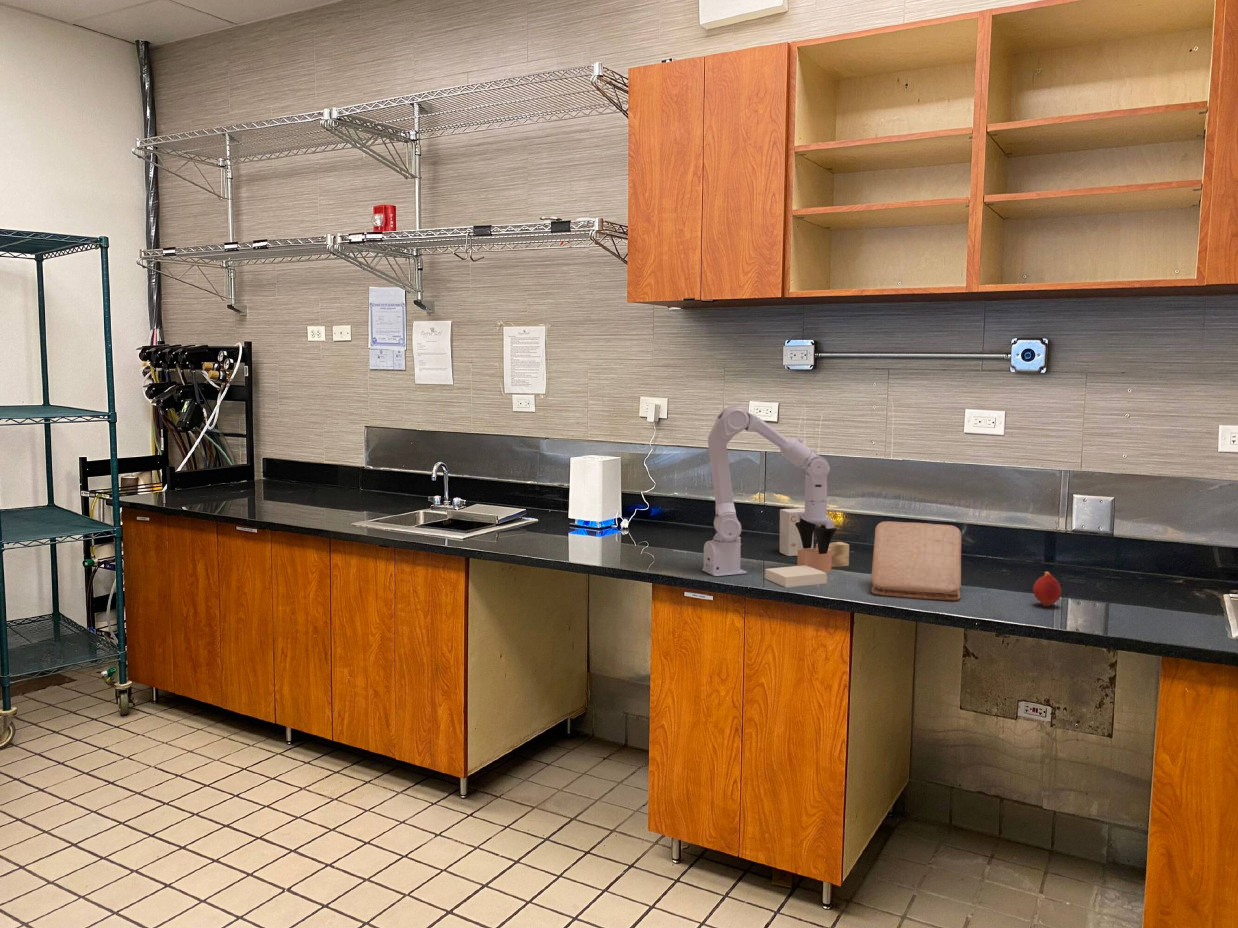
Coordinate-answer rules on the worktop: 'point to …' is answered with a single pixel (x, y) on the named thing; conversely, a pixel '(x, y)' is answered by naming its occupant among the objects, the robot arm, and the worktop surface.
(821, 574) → the base block
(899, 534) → the case
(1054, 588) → the onion
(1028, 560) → the worktop surface
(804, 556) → the terracotta brick
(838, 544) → the light oak brick
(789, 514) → the small box
